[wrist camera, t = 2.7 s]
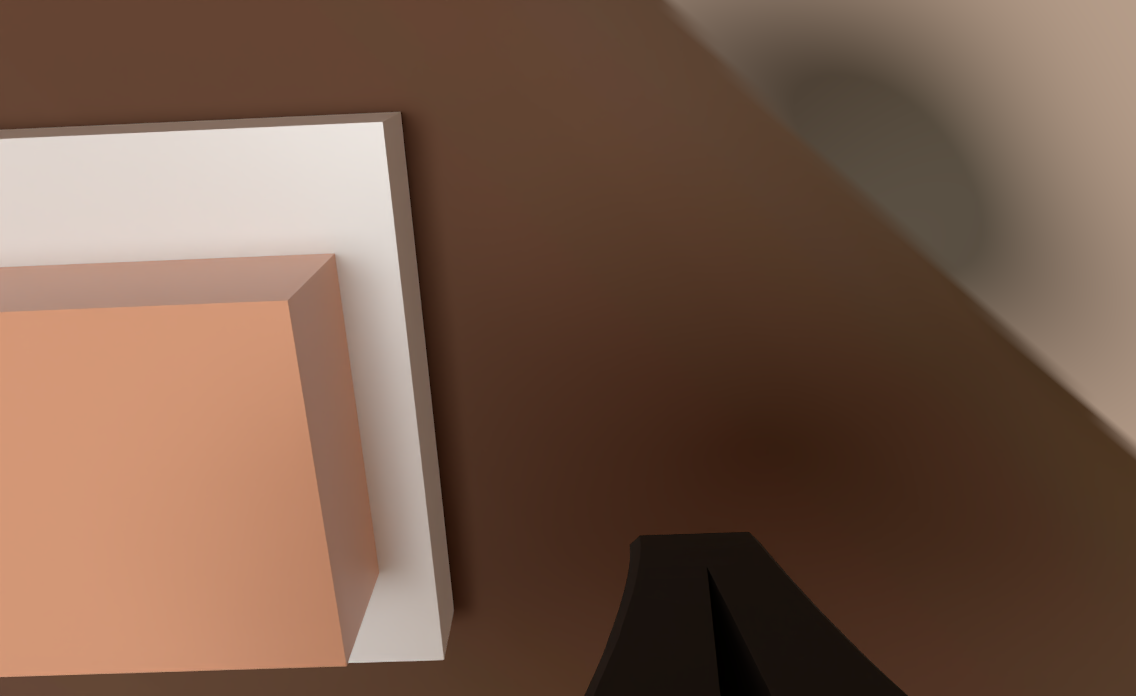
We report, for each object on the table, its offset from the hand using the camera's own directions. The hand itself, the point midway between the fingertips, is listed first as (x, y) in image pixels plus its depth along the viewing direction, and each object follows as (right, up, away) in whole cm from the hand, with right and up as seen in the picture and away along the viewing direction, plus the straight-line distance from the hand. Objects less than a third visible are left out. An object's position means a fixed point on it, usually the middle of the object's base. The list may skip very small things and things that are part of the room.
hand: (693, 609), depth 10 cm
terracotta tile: (-9, +2, +5) cm, 11 cm away
